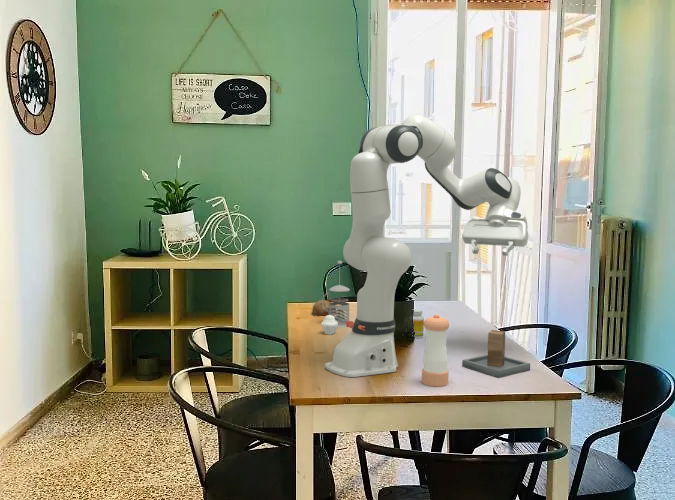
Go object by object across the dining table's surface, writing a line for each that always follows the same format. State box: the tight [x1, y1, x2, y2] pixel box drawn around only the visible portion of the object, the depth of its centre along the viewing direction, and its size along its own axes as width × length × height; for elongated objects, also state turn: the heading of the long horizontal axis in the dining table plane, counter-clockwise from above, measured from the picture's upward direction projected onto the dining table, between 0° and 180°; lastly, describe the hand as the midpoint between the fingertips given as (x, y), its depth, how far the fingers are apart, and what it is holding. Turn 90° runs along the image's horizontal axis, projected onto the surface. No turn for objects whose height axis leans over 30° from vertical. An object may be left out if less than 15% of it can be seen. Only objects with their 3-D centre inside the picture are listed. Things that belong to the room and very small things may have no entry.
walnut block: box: [487, 329, 506, 368], centre depth 195 cm, size 4×4×10 cm
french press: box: [321, 260, 350, 328], centre depth 252 cm, size 10×12×25 cm
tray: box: [461, 354, 531, 379], centre depth 196 cm, size 14×14×2 cm
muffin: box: [320, 315, 338, 335], centre depth 238 cm, size 6×6×7 cm
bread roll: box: [311, 299, 337, 317], centre depth 272 cm, size 10×10×8 cm
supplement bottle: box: [413, 308, 425, 339], centre depth 234 cm, size 5×5×10 cm
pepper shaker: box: [421, 313, 450, 387], centre depth 180 cm, size 7×7×19 cm
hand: (489, 253), depth 202 cm, fingers open, 8 cm apart
